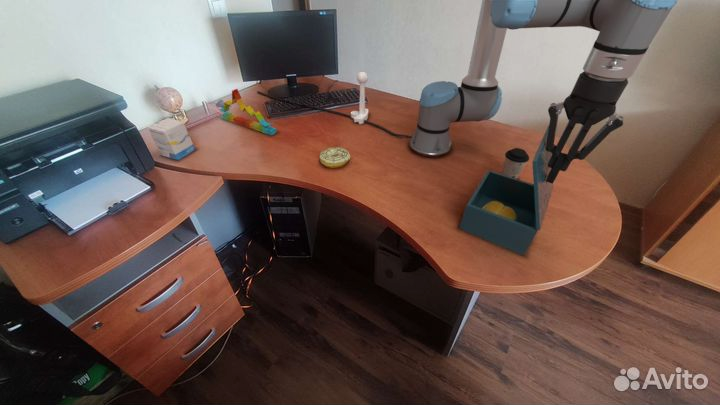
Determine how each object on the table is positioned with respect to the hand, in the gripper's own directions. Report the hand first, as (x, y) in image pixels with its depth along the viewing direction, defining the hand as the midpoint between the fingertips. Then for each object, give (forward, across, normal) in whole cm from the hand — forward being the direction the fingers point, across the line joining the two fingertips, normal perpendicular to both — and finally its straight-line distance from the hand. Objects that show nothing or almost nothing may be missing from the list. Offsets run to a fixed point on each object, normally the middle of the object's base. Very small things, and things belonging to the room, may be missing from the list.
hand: (550, 179), depth 69 cm
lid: (0, -2, 0) cm, 2 cm away
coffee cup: (+17, -9, +22) cm, 29 cm away
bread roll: (+17, -7, 0) cm, 18 cm away
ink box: (+17, -117, -30) cm, 122 cm away
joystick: (+17, -76, +32) cm, 85 cm away
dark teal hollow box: (+17, -6, 0) cm, 18 cm away
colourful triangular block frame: (+17, -112, 0) cm, 114 cm away
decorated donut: (+17, -63, -2) cm, 66 cm away
